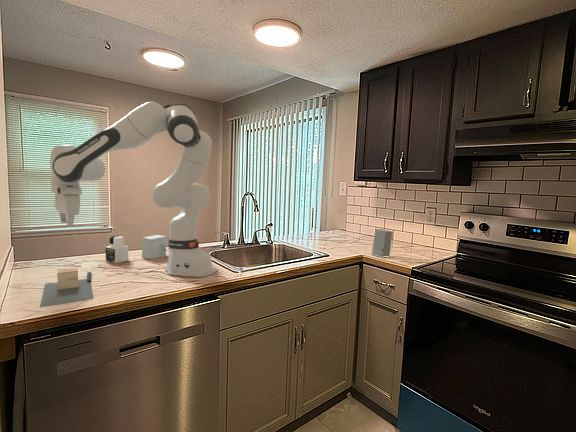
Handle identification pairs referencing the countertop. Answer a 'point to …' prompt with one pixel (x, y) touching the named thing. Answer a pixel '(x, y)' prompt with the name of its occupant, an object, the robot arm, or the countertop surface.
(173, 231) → the robot arm
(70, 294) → the rubber mat
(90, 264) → the spatula
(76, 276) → the birch cube
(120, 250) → the medicine bottle
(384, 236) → the skincare box
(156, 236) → the skincare box
